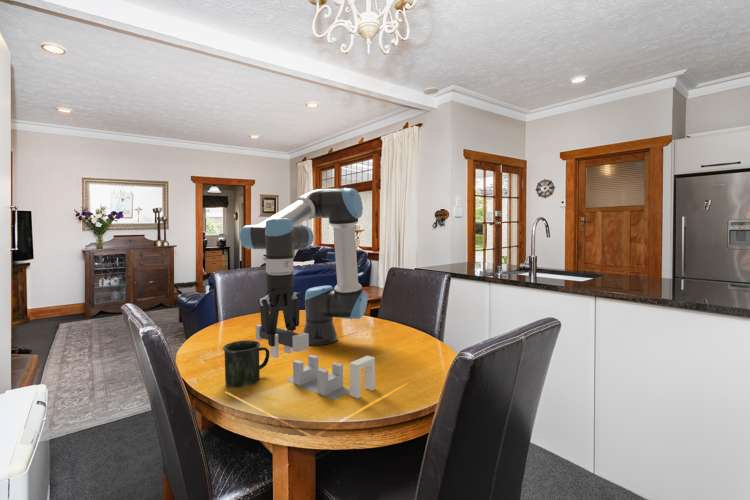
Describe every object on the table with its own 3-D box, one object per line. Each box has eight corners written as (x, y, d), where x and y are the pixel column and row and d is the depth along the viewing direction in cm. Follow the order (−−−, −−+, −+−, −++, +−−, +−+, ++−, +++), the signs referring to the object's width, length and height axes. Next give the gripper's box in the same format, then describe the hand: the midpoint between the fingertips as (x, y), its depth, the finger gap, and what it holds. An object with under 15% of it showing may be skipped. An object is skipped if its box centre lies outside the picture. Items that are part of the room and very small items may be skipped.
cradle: (285, 381, 124) (284, 358, 123) (304, 374, 130) (304, 352, 129) (333, 402, 110) (333, 375, 109) (352, 392, 116) (352, 367, 115)
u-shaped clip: (349, 397, 113) (349, 362, 112) (367, 388, 119) (367, 355, 118) (357, 400, 111) (357, 365, 110) (375, 390, 117) (375, 357, 116)
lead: (255, 338, 115) (255, 325, 115) (267, 335, 118) (267, 322, 118) (297, 352, 103) (296, 337, 103) (308, 348, 106) (308, 333, 106)
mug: (219, 381, 124) (218, 344, 123) (262, 370, 133) (261, 336, 132) (231, 393, 116) (230, 353, 115) (276, 380, 125) (275, 343, 124)
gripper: (262, 277, 100) (263, 365, 102) (311, 271, 113) (312, 349, 115) (245, 275, 105) (247, 359, 107) (295, 269, 118) (296, 344, 120)
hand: (281, 354), depth 111 cm, fingers closed on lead, 4 cm apart
